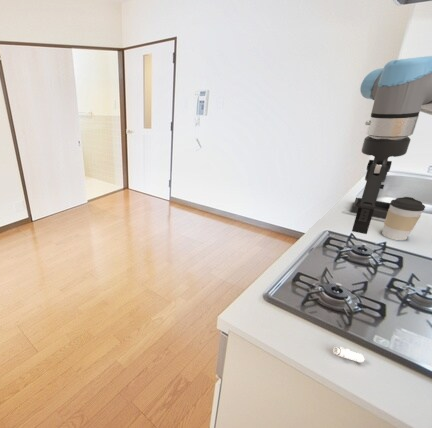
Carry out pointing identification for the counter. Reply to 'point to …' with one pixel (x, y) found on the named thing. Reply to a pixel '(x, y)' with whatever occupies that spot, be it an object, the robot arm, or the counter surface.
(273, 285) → the counter surface
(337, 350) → the small white plastic part
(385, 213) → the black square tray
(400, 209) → the coffee cup
